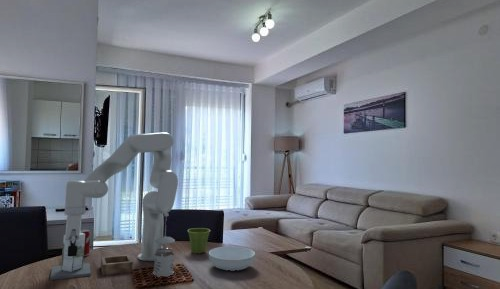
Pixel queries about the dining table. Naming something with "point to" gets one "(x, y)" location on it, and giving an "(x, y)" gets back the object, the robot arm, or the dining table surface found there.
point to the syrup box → (73, 261)
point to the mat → (61, 274)
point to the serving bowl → (231, 258)
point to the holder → (116, 264)
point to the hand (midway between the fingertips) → (72, 252)
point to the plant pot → (198, 239)
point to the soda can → (86, 241)
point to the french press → (164, 256)
